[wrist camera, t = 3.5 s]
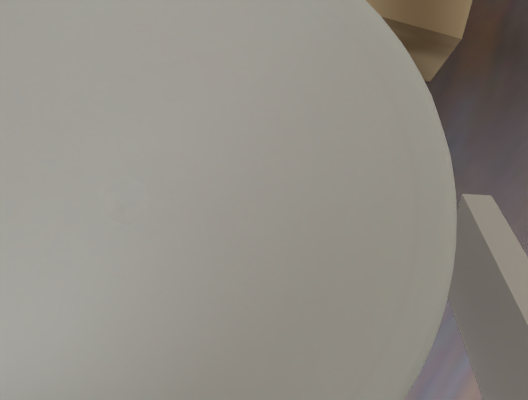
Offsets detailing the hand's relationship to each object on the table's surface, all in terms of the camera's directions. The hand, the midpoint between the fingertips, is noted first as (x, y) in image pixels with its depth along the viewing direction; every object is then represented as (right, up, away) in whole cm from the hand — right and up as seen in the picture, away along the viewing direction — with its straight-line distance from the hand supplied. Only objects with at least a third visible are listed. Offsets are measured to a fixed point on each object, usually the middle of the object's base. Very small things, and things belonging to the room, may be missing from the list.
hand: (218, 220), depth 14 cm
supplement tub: (0, -2, +8) cm, 8 cm away
